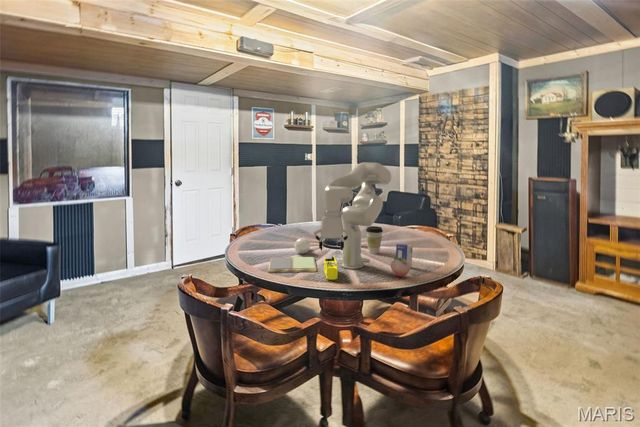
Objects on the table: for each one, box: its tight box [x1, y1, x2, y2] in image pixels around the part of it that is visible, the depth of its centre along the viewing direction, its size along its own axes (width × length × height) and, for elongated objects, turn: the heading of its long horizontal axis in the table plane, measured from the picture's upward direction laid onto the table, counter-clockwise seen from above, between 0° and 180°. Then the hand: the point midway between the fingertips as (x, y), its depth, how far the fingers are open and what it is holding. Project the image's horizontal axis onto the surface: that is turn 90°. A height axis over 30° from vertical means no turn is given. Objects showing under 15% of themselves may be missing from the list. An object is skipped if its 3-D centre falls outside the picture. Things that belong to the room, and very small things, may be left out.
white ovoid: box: [294, 237, 311, 255], centre depth 231 cm, size 9×10×15 cm
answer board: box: [267, 256, 317, 273], centre depth 206 cm, size 24×22×2 cm
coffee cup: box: [365, 225, 384, 255], centre depth 231 cm, size 10×10×15 cm
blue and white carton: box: [395, 243, 414, 269], centre depth 204 cm, size 8×3×12 cm, turn 61°
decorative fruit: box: [390, 257, 411, 278], centre depth 188 cm, size 9×8×10 cm
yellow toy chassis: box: [322, 254, 339, 281], centre depth 190 cm, size 16×6×8 cm, turn 5°
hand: (331, 249), depth 187 cm, fingers open, 9 cm apart
